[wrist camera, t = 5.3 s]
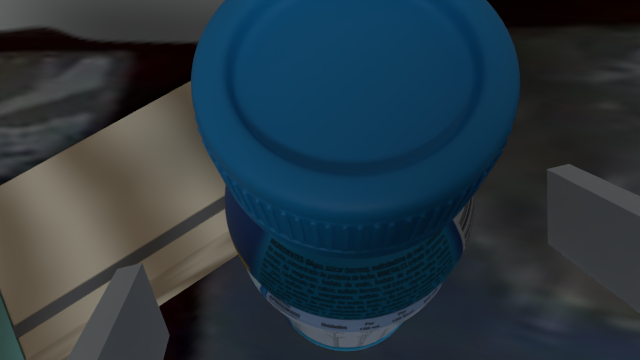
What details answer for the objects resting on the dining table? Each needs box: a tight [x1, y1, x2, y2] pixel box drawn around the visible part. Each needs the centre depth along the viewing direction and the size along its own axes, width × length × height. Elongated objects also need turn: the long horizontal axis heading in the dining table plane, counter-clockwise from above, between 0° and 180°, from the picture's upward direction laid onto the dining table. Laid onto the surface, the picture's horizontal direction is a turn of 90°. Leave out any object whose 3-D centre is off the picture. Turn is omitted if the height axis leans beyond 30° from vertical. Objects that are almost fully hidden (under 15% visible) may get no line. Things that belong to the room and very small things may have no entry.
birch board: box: [0, 81, 238, 360], centre depth 27 cm, size 28×10×4 cm, turn 125°
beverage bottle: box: [191, 0, 520, 351], centre depth 18 cm, size 8×8×20 cm
